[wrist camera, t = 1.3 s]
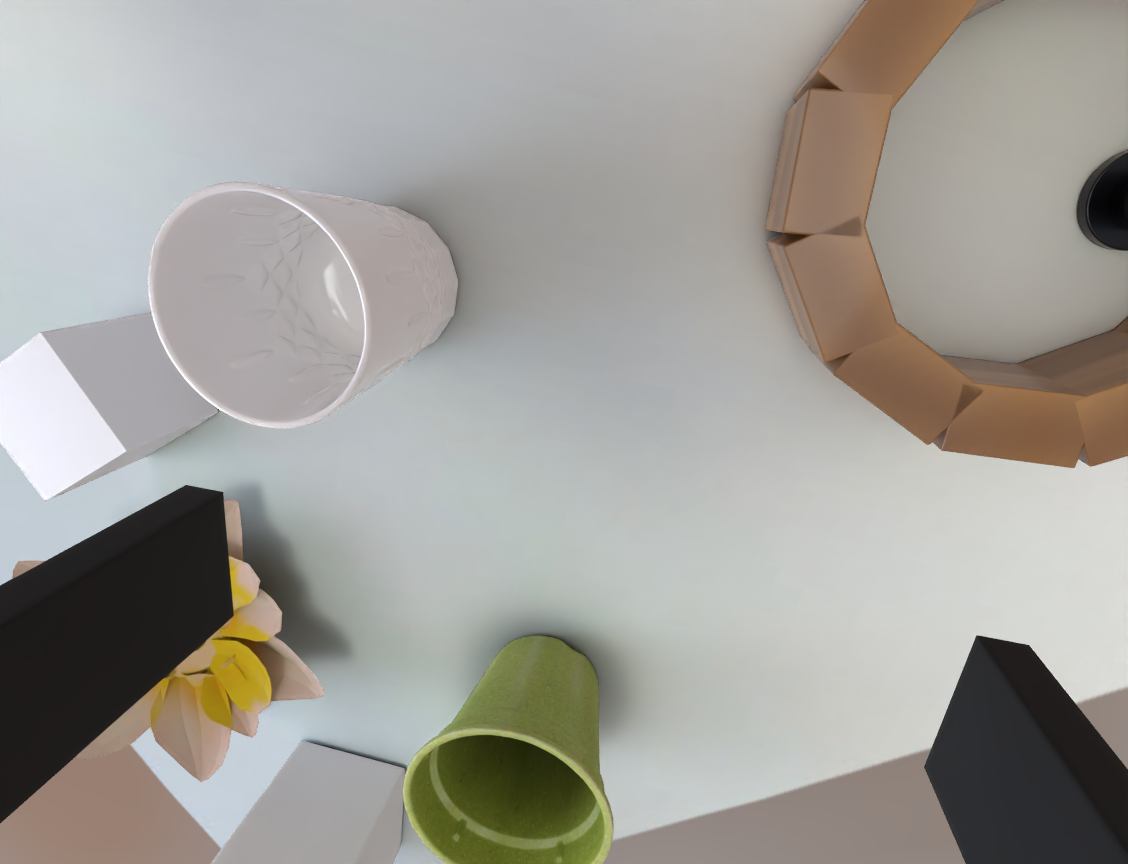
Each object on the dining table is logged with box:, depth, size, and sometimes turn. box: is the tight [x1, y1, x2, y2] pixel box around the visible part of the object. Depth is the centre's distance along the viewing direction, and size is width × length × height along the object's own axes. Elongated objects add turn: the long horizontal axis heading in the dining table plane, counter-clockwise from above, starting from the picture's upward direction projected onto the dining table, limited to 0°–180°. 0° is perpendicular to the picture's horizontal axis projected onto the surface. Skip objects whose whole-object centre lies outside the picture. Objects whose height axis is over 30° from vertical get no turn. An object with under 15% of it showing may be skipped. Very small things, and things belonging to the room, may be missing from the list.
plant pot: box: [403, 636, 613, 864], centre depth 31 cm, size 9×9×9 cm
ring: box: [765, 0, 1128, 468], centre depth 22 cm, size 18×18×5 cm
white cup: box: [148, 182, 459, 429], centre depth 25 cm, size 8×8×10 cm
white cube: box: [0, 313, 219, 501], centre depth 31 cm, size 6×6×6 cm
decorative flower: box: [13, 500, 324, 782], centre depth 33 cm, size 15×11×10 cm
